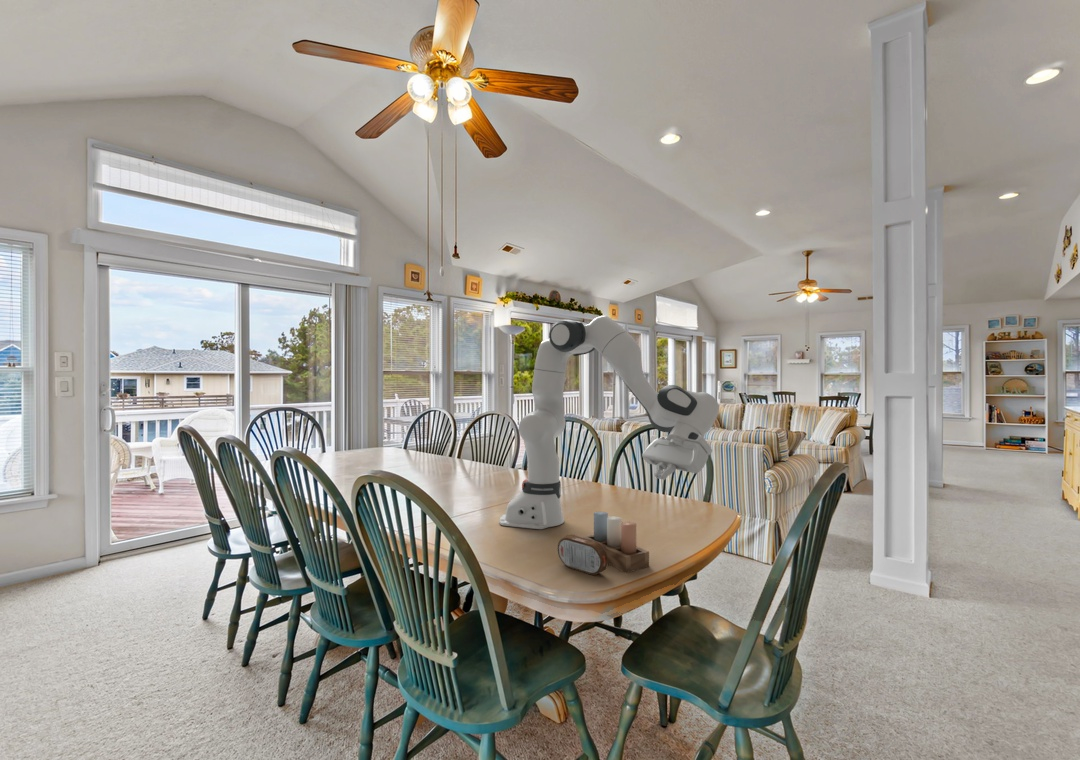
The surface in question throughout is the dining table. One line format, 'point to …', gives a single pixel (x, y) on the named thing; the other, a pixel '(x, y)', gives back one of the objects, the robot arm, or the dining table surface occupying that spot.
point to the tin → (582, 554)
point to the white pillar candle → (614, 531)
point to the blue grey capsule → (600, 526)
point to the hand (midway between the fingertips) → (659, 477)
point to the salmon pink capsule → (628, 538)
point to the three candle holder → (625, 557)
